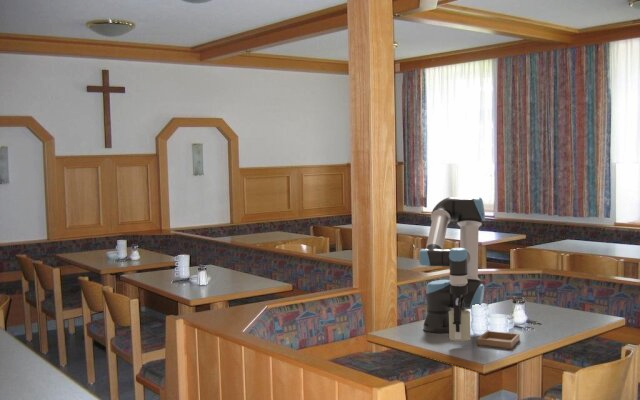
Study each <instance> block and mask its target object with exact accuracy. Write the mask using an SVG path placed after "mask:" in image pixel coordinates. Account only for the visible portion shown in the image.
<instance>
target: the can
mask: <svg viewBox="0 0 640 400" xmlns="http://www.w3.org/2000/svg"><path fill="white" fill-rule="evenodd" d="M453 322H454V309H451V311H449V332H448V333H449V334H448V335H449V337H448V338H449V340H452V341H454V342H465V341H470V340H471V339H472V337H471V311H469V310H468V309H465V310H461V337H462V339H455V324H453Z"/></svg>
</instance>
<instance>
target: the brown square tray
mask: <svg viewBox="0 0 640 400" xmlns="http://www.w3.org/2000/svg"><path fill="white" fill-rule="evenodd" d="M520 335H521V334H520V333H513V332H501V331H492V330H487V331H485V332H484V333H483V334H481V335H480V336H479V337H478V338H477V341H476V342H477V347H478V346H479V347H485V348H486V347H488V348H497V349H506V350H512V349H513V348H515V346H516V345H518V343H519V342H520V340H521V339H520Z"/></svg>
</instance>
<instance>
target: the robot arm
mask: <svg viewBox="0 0 640 400" xmlns="http://www.w3.org/2000/svg"><path fill="white" fill-rule="evenodd" d="M430 220H431V224H430V229H429V233H428V237H427V240H426V246H425V248H424V249H423V248H422V249H420V250H419V253H418V261H419V265H420V266H422V267H423V266H425V267H449V279H438V280H433V281H429V282H428V283H427V284H426V292H425V294H426V297H425V298H426V315H425V318H424V321H423V330H424V331H425V332H429V333H435V334H436V333H437V334H446V333H449V311H451V310H452V309H453V310H454V322H453V324H455V339H462V337H461V310H468V309H469V310H472V309H471V308H472V305H475V304H479V305H481V304H483V301H484V293H485V285H484V284H483V283H482V280H481V278H479V228H480V227H481V226H483V225H482V223H483V222H484V221H486V214H485V205H484V200H483V198H482V197H480V196H450V197H446V198H443V199H441V200H440V201H439V202H438V203H437V204H435V206H434V208H433V209H432V211H431V215H430ZM452 221H454V222H457V223H456V224H457V226H458V227H460V228H459V229H460V234H459V247H453V248H450V249H446V248H445V249H444V244H445V240H446V235H447V230H448V229H447V228H448V225H449V224H450V222H452ZM481 306H482V305H481Z"/></svg>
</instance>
